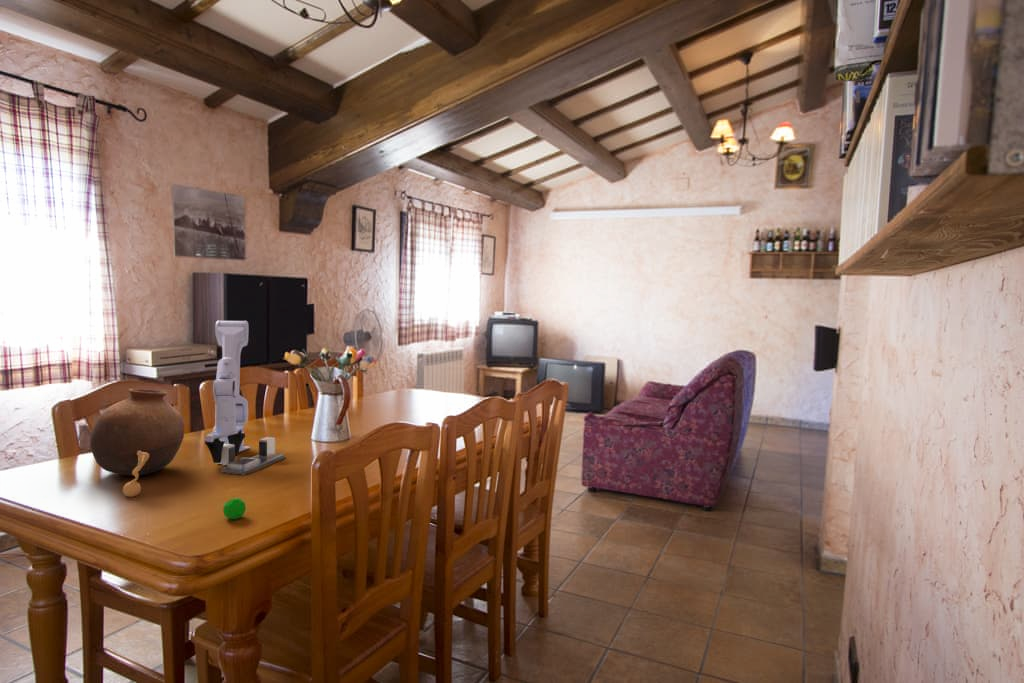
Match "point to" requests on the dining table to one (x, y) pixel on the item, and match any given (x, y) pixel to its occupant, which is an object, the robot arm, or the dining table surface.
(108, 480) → the dining table surface
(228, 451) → the block
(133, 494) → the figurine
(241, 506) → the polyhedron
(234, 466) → the grey divided tray
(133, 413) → the pottery
